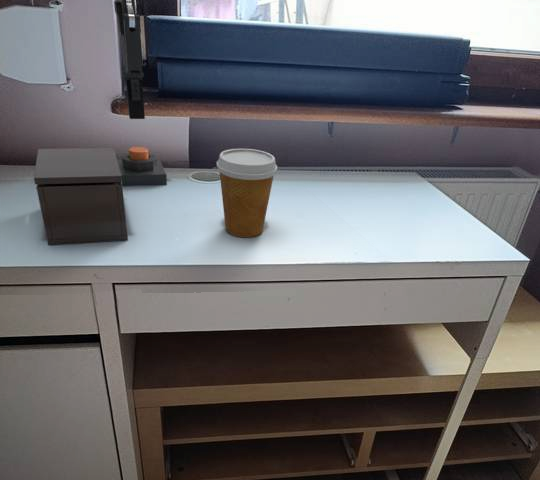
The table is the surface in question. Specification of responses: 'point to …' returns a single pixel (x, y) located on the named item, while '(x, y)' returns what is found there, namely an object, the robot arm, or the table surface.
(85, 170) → the grey box lid
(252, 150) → the disposable coffee cup
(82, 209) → the dark brown box
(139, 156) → the button
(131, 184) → the block
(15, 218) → the table surface
